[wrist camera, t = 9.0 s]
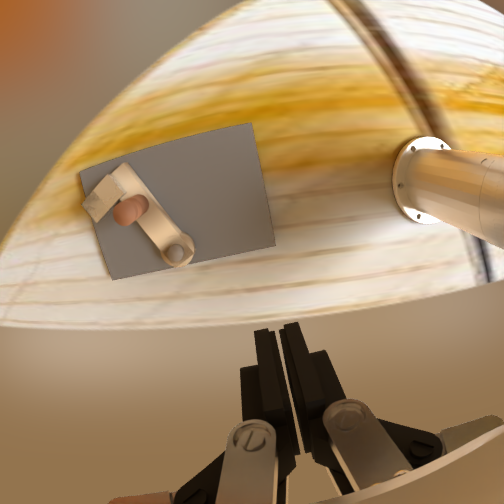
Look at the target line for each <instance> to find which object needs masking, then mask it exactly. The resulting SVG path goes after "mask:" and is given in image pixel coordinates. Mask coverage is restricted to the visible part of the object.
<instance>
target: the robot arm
mask: <svg viewBox="0 0 504 504" xmlns="http://www.w3.org/2000/svg"><path fill="white" fill-rule="evenodd" d="M392 182H393V191H394V195H395V198H396V201H397V203H398V205H399V207H400V208H401V210H402V211H403V212H404V213H405V215H406V216H408V217H409V218H410V219H412V220H414V221H416V222H418V223H422V224H433V223H436V222H439V221H443V222H446V223H448V224H450V225H452V226H455V227H457V228H459V229H461V230H464V231H466V232H468V233H470V234H472V235H474V236H476V237H478V238H481V239H483V240H485V241H487V242H489V243H491V244H493V245H495V246H497V247H499V248H501V249H504V156H503V155H497V154H489V153H482V152H473V151H464V150H454V149H450V147H449V146H448V145H447V144H446V143H445V142H443V141H441V140H440V139H437V138H435V137H427V136H425V137H418V138H415V139H413V140H411V141H410V142H408V143H407V144H406V145H405V146H404V147H403V148H402V150H401V151H400V153H399V154H398V156H397V159H396V161H395V165H394V169H393V177H392ZM398 184H399V186H398ZM279 333H280V338H281V344H282V349H283V354H284V359H285V365H286V370H287V375H288V380H289V385H290V389H291V393H292V398H293V402H294V407H295V411H296V415H297V419H298V424H299V428H300V432H301V437H302V441H303V445H304V450H305V453H309V452H311V453H312V457H313V459H314V460H315V462H316V463H319V464H321V465H323V466H326V470H327V472H328V474H329V476H330V478H331V480H332V482H333V484H334V486H335V488H336V490H337V492H338V494H339V496H340V497H336V498H332V499H329V500H324V501H320V502H316V503H311V504H504V422H503V420H502V419H501V418H500V417H498V416H495V415H488V416H484V417H481V418H479V419H475V420H473V421H469V422H466V423H463V424H460V425H457V426H453V427H450V428H446V429H443V430H441V431H440V433H437V434H433V433H430V432H426V431H423V430H418V429H414V428H410V427H407V426H403V425H399V424H395V423H392V422H388V421H385V420H381V419H378V418H376V417H375V416H374V414H373V413H372V411H371V410H370V409H369V407H368V406H367V405H366V404H365V403H363V402H361V401H359V400H356V399H346V396H345V394H344V392H343V389H342V387H341V384H340V382H339V380H338V377H337V375H336V373H335V370H334V368H333V366H332V364H331V361H330V359H329V356H328V354H327V352H326V351H325V350H322V351H318V352H314V353H310V354H309V351H308V348H307V346H306V343H305V340H304V337H303V334H302V332H301V329H300V326H299V323H298V322H294V323H290V324H285V325H284V329H280V330H279ZM254 336H255V345H256V353H257V361H258V365H254V366H248V367H243V368H240V379H241V399H242V417H243V422H241V423H239V424H238V425H236V426H235V427H234V428H233V429H232V430H231V431H230V433H229V436H228V439H227V444H226V450H225V451H224V452H223V453H222V454H221V455H220V456H219V457H218V458H216V459H215V460H214V461H213V462H212V463H210V464H209V465H208V466H207V467H206V468H205V469H203V470H202V471H201V472H200V473H198V474H197V475H196V476H195V477H193V478H192V479H191V480H190V481H189V482H187V483H186V484H185V485H183V486H182V487H181V488H180V489H179V490H178V491H176V492H171V493H170V492H169V491H163V492H157V493H150V494H143V495H135V496H124V497H118V498H114V499H113V500H111V501H110V502H109V503H108V504H288V481H289V478H288V475H289V474H290V472H292V470H293V469H294V468H295V467H296V461H295V455H300V449H299V444H298V439H297V434H296V428H295V423H294V417H293V412H292V407H291V403H290V398H289V394H288V390H287V384H286V380H285V376H284V371H283V367H282V362H281V358H280V354H279V349H278V345H277V340H276V336H275V331H271V332H269V330H268V328H267V329H262V330H257V331H254Z"/></svg>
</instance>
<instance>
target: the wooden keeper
mask: <svg viewBox="0 0 504 504" xmlns="http://www.w3.org/2000/svg"><path fill="white" fill-rule="evenodd" d="M126 193H127V192H126V190H125V189H124V188H123V187H122V186H121V185H120V184H119V182H118V181H117V180H116V179H115V178H114V177H113V175H112V174H111V173H110V174H107V175H106V176H105V177H104V178H103V180H102V181H101V182H100V183H99V184H98V185H97V186H96V188H95V189H94V190H93V191H92V192H91V193H90V195H89V196H88V197H87V198H86V199H85V200H84V202H83V203H82V204H81V205H82V206H83V208H84V209H85V210H86V211H87V212H88V214H89V215H90V216H91V217H92V218H93V219H94V221H95V222H96V223H98V222H100V221H101V220H103V219H105V218H106V217H108V216H109V214H110V213H111V212H112V211H113V210H114V207H115V206H116V205H117V204H118V201H119V200H120V199H121V198H122V197H123V196H124V195H125V194H126Z"/></svg>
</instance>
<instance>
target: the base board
mask: <svg viewBox="0 0 504 504" xmlns="http://www.w3.org/2000/svg"><path fill="white" fill-rule="evenodd" d="M126 162H128V163H129V165H130V166H131V167H132V169H133V170H134V171H135V173H136V174H137V175H138V177H139V178H140V179H141V180H142V182H143V183H144V184H145V186H146V187H147V188H148V190H149V191H150V192H151V193H152V195H153V196H154V197H155V199H156V200H157V201H158V202H159V204H160V205H161V206H162V207H163V209H164V210H165V211H166V213H167V214H168V215H169V216H170V218H171V219H172V220H173V221H174V223H175V224H176V225H177V226H178V228H179V229H180V230H181V231H182V232H185V233H187V234H189V235H190V236H191V237H192V239H193V240H194V243H195V249H196V251H195V254H194V255H193V258H192V260H191V261H190V262H189V263H188V264H192V263H197V262H202V261H206V260H211V259H216V258H220V257H225V256H230V255H235V254H239V253H244V252H249V251H253V250H258V249H263V248H268V247H272V246H276V244H275V239H274V233H273V228H272V223H271V217H270V212H269V207H268V202H267V197H266V192H265V187H264V182H263V177H262V172H261V167H260V162H259V157H258V152H257V147H256V142H255V138H254V133H253V128H252V123H247V124H242V125H237V126H232V127H227V128H222V129H218V130H213V131H209V132H205V133H201V134H197V135H193V136H189V137H185V138H181V139H177V140H174V141H170V142H166V143H163V144H159V145H156V146H153V147H149V148H146V149H143V150H140V151H136V152H133V153H130V154H127V155H124V156H121V157H118V158H115V159H112V160H110V161H107V162H104V163H101V164H98V165H96V166H93V167H90V168H88V169H85V170H83V171H80V172H79V173H80V177H81V181H82V185H83V189H84V193H85V197H86V198H87V197H88V196H89V195H90V193H91V192H92V191H93V190H94V189H95V188H96V186H97V185H98V184H99V183H100V182H101V181H102V180H103V178H104V177H105V176H106V175H107V174H110V173H111V174H112V173H113V172H114V171H115V170H116V169H117V168H118V167H119V166H120V165H121V164H122V163H126ZM120 202H121V200H119V201H118V203H120ZM91 218H92V217H91ZM92 222H93V225H94V228H95V231H96V235H97V238H98V241H99V244H100V247H101V250H102V253H103V256H104V259H105V261H106V264H107V267H108V270H109V273H110V275H111V278H112V281H113V280H117V279H122V278H127V277H131V276H136V275H141V274H145V273H150V272H155V271H159V270H164V269H169V268H173V266H170V265H169V264H167V263H166V262H165V261H164V260H163V258H162V256H161V253H160V249H159V248H158V247H157V245H156V244H155V243H154V242H153V241H152V239H151V238H150V237H149V236H148V234H147V233H146V232H145V231H144V230H143V228H142V227H141V226H140V225H139V223H138V222H137V221H136V220H135V221H134V222H133V223H131V224H130V225H128V226H121V225H119V224H118V223H116V221H115V220H114V217H113V211H112V212H111V213H110V214H109V216H108V217H106V218H105V219H103V220H101V221H100V222H98V223H96V222H95V221H94V219H93V218H92ZM188 264H187V265H188Z"/></svg>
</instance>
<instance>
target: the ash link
mask: <svg viewBox="0 0 504 504" xmlns="http://www.w3.org/2000/svg"><path fill="white" fill-rule="evenodd" d="M112 175H113V177H114V178H115V179H116V180H117V181H118V182H119V184H120V185H121V186H122V187H123V188H124V189H125V190H126V192H127V193H126V194H125V195H124V196H123V197H122V198H121V199H120V200H121V202H120V203H118V204H117V205H116V206H115V207H114V210H113V217H114V220H115V221H116V223H118V224H119V225H121V226H128V225H130V224H131V223H133V222H134V221H135V220H136V221H137V222H138V223H139V225H140V226H141V227H142V228H143V230H144V231H145V232H146V233H147V234H148V236H149V237H150V238H151V239H152V241H153V242H154V243H155V244H156V245H157V247H158V248H159V249H160V253H161V256H162V258H163V260H164V261H165V262H166V263H167V264H169V265H170V266H173V267H175V268H176V267H183V266H185V265H187V264H188V263H189V262H190V261H191V260H192V258H193V255H194V254H195V251H196V249H195V243H194V240H193V239H192V237H191V236H190V235H189V234H187V233H185V232H182V231H181V230H180V229H179V228H178V226H177V225H176V224H175V223H174V221H173V220H172V219H171V218H170V216H169V215H168V214H167V213H166V211H165V210H164V209H163V207H162V206H161V205H160V204H159V202H158V201H157V200H156V199H155V197H154V196H153V195H152V193H151V192H150V191H149V190H148V188H147V187H146V186H145V184H144V183H143V182H142V180H141V179H140V178H139V177H138V175H137V174H136V173H135V171H134V170H133V169H132V167H131V166H130V165H129V163H128V162H126V163H122V164H121V165H120V166H119V167H118V168H117V169H116V170H115V171H114V172H113V173H112Z"/></svg>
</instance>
